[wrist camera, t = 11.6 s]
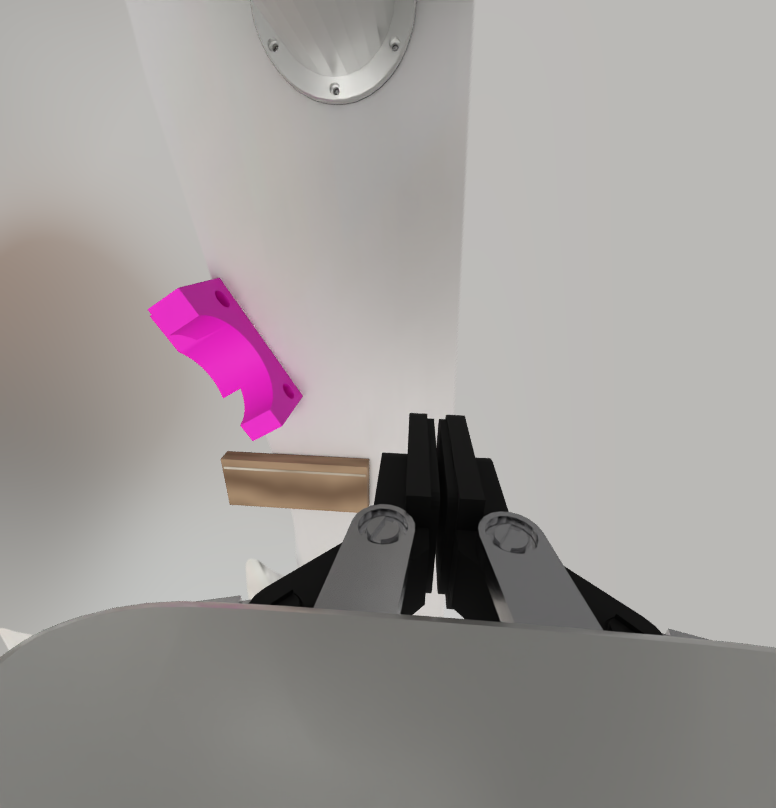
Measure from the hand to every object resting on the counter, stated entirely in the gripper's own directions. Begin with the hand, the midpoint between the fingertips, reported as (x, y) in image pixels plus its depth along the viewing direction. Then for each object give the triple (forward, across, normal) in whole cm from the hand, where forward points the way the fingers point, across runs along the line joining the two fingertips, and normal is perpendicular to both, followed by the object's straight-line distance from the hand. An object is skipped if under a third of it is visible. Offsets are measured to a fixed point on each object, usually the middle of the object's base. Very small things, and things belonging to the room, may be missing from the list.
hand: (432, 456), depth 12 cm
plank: (+29, +14, +23) cm, 40 cm away
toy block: (+30, +20, +7) cm, 36 cm away
